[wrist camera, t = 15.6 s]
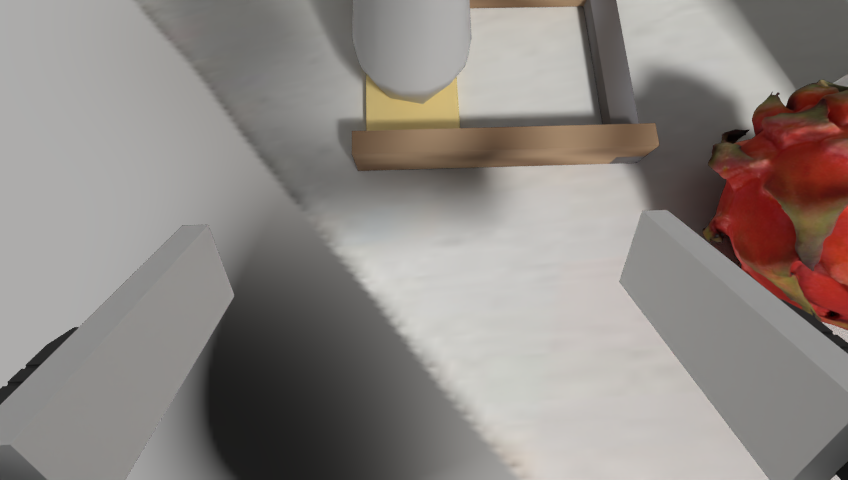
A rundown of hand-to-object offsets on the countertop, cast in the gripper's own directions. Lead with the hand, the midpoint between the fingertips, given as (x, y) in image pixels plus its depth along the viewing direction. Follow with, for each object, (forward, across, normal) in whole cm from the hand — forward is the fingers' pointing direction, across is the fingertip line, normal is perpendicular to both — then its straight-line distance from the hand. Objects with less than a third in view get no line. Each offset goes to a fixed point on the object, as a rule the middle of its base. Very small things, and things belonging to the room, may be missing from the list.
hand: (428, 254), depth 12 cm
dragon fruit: (+6, +18, -4) cm, 19 cm away
